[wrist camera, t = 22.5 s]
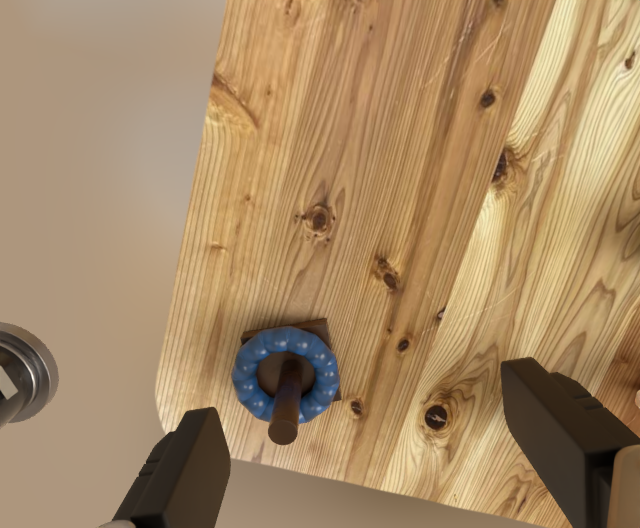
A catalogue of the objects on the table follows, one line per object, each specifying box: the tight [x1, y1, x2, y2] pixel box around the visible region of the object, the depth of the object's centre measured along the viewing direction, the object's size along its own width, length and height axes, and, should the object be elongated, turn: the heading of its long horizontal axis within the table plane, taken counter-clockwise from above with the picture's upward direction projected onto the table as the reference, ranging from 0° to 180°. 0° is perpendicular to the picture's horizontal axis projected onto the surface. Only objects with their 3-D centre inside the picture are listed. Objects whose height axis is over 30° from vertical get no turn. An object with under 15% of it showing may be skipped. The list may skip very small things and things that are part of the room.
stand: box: [241, 318, 342, 445], centre depth 39 cm, size 9×9×12 cm
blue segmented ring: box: [231, 326, 340, 424], centre depth 42 cm, size 11×11×2 cm
